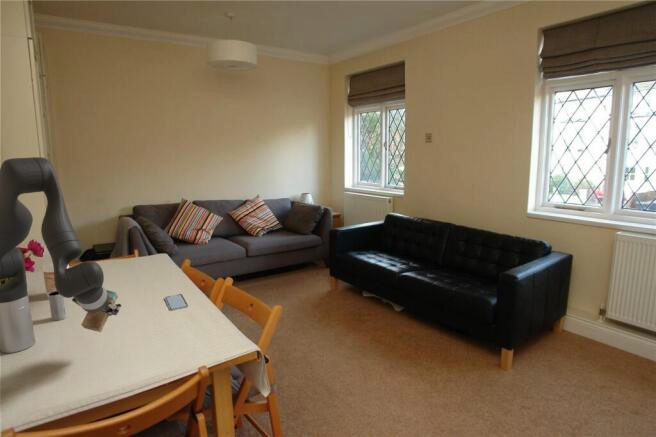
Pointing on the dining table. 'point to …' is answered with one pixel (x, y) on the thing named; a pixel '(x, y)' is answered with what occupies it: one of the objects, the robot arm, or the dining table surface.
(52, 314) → the planter
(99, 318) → the brown tall block
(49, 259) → the white strawberry milk bottle
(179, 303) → the smartphone
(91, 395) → the dining table surface
